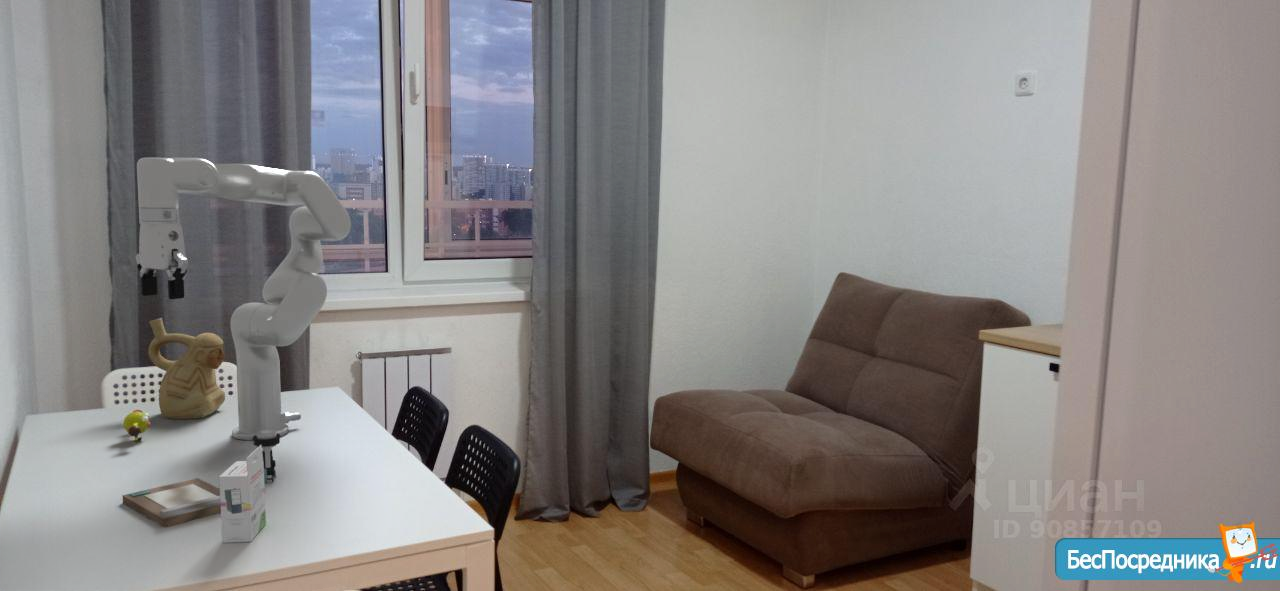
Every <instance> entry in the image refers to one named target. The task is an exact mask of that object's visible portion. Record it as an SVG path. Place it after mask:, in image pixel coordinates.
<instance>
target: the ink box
mask: <svg viewBox="0 0 1280 591" xmlns="http://www.w3.org/2000/svg"><path fill="white" fill-rule="evenodd" d="M262 451H263V448H262V446H261V445H260V446H259V447H257V448H256V449H254V450H253V451H252V452H251V453H249V454H250V455H248V456H246V460H243V461H242V460H239V461H238V460H237V461H235V462H234V463H232V464H231V465H230V467H228V468H227V469H226V470H225V471H223V473H221V474H220V475H219V476H218V482H219V489H220V502H221V512H220V518H221V519H220V520H221V521H220V522H221V539H222V541H221V542H222V543H223V544H224V543H225V544H226V543H249V542H252V541H253V540H254V539H255V538H256V536H257V535H258V534H259V533H260V532H261V530H262V529H263V528H264V527H265V526H266V524H267V520H266V518H267V516H266V512H267V511H266V492H265V488H266V487H265V483H264V462H263V454H262ZM255 457H256V460H254V459H255ZM253 460H254V461H253Z"/></svg>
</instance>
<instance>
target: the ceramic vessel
mask: <svg viewBox="0 0 1280 591" xmlns="http://www.w3.org/2000/svg"><path fill="white" fill-rule="evenodd" d="M148 323H149V325H150V327H151V329H152V332H153V335H154V338H152V340H151V342H150V343H149V346H148V352H147V353H148V357H149V360H150V361H151V362H152V364H153V365H154V366H155V367H157V368H158V369H160V370H162V371H165V373H164V375H163V377H162V380H161V383H160V386H159V391H158V392H159V393H158V406H159V411H160V412H161V415H162V416H163V417H164V418H166V419H171V420H172V419H173V420H190V419H191V420H193V419H202V418H205V417H207V416H210V415H211V414H213V413H215V411H217V410H219V409H220V407H221V406H222V405H223V404H224V402H225V400H226V394H225V392H224V390H223V389H222V388H221V387H219V385H218V384H217V376H216V370H217V369H219V367H220V366H221V365H222V364H223V363H224V362H223V361H224V360H226V354H225V353H224V351H223V350H224V349H223V344H224V341H223V339H222V338H221V337H220V336H219V335H218V334H215V333H213V332H203V333H200V334H198V335H197V336H192V335H189V334H185V333H178V332H177V333H175V332H173V333H167V332H166V329H165V326H164V322H163V317H160V318H156V319H153V320H150V321H149V322H148ZM170 343H173V344H174V343H177V344H178V343H179V344H182V345H184V346H186V347H187V349H186V351H185V352H184V353H183V354H182V356H179V358H178V359H177V360H170V359H166V358H165V357H164V356H162V354H161V351H160V350H161V347H162V346H164V345H167V344H170Z"/></svg>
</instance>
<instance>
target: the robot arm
mask: <svg viewBox="0 0 1280 591" xmlns="http://www.w3.org/2000/svg"><path fill="white" fill-rule="evenodd" d="M136 177H137V178H136V179H137V195H138V198H137V199H138V217H139V220H138V221H139V224H140V225H139V235H138V236H139V237H138V238H139V240H138V249H139V252H138V253H137V254H135V261H136V265H137V269H138V271H139V277H140V284H141V295H142V297H143V296H144V297H147V296H157V295H158V276H156V272H157V271H165V272H166V275H167V277H168V278H169V280H167V289H168V292H167V295H168V299H169V300H178V299H184V298H185V279H186V274H187V271H188V269H187V268H188V265H189V260H188V259H187V256H186V248H185V246H186V245H185V241H184V240H185V238H184V233H183V229H182V225H181V223H180V209H179V208H180V206H179V204H180V202H179V194H186V195H193V196H194V195H196V196H204V197H211V198H212V197H214V198H220V199H225V200H231V201H241V202H249V203H250V202H252V203H262V204H269V205H277V206H287V207H289V206H291V207H293V206H294V207H298V208H295V209H294V210H293V211H292V212H291V214H290V216H289V220H288V228H289V232H290V238H291V244H290V245H291V246H290V250H289V252H288V254H286V256H285V257H284V259H283V260H282V261H281V263H279V265H278V266H277V267H276V269H275V270H273V273H272V274H271V275H270V276H269V278H268V279H266V281H265V283H264V285H263V288H262V290H261V291H262V298H263V299H264V301H265V303H262V302H247V303H243V304H242V305H240V306H238V307H237V308H236V309H235V310H234V311H233V313H232V315H231V317H230V332H231V336H232V340H233V345H234V350H235V361H236V385H237V387H236V388H237V409H238V410H237V414H238V415H237V416H238V426H237V427H235V428H233V429H232V431H231V436H232V438H234V439H238V440H241V441H254V440H253V439H252V437H253V436H255V435H257V432H258V431H260V430H266V429H273V430H276V433H278V434H280V435H281V437H282V436H285V435H286V434H288V433H289V429H290V428H289V425H287V424H289V422H291V421H292V422H294V421H295V422H296V421H299V420H301V417H302V415H301V413H300V411H295V412H292V413H290V412H289V411H287V412H284V411H282V399H281V398H282V397H281V396H282V394H281V393H282V392H281V390H282V389H281V365H280V364H281V363H280V356H279V352H278V351H279V350H278V349H277V347H287V346H290V345H293V343H295V342H296V341H297V340H298V339H299V338H300V337H301V336H302V335H303V334H304V332H305V331H306V330H307V328H308V326H309V325H310V324H311V323H312V322H313V321H314V319H315V318H316V316H317V315H318V314H319V312H320V311H321V309H322V308H323V307H324V304H325V302H326V299H327V296H328V295H327V294H328V288H327V287H328V286H327V284H326V281H325V280H324V279H323V278H322V276H321V275H320V274H319V273H320V272H321V269H322V267H323V264H324V255H323V249H322V244H321V243H322V242H321V241H324V242H338V241H342V240H343V239H345V238H346V237H347V236H348V235H349V234H350V231H351V227H352V222H351V218H350V215H349V212H348V211H347V209H346V208H345V207H344V205H343V203H342V202H341V201H340V200H339V198H338V197H337V195H336V194H335V193H334V191H333V190H332V188H331V187H330V185H329V184H327V182H326V181H325V179H323V178H322V177H321V176H320V175H319V174H317V173H316V172H315V171H311V170H289V169H287V170H286V169H281V168H280V169H279V168H272V167H266V166H259V165H256V164H247V163H212V162H211V161H209V160H207V159H205V158H201V157H147V156H146V157H142V158H139V159H138V161H137V162H136Z"/></svg>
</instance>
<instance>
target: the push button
mask: <svg viewBox="0 0 1280 591" xmlns="http://www.w3.org/2000/svg"><path fill="white" fill-rule="evenodd" d="M281 438H282V436H281V435H280V434H278V433H276V430H273V429H266V430H260V431H258V432H257V435H255V436H253V437H252V439H253V440H252V441H253V445H254V446H256V447H257V448H258V447H259V446H260V445H261V446H262V454H263V462H264V484H265V483H268V484H269V483H273V482H274V478H275V479H276V478H277V471H276V469H275V467H276V466H277V464H276V460H275V459H274V456H273V449H272V448H275V447H276V446H277V445H279V444H280V443H281V440H280V439H281Z"/></svg>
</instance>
